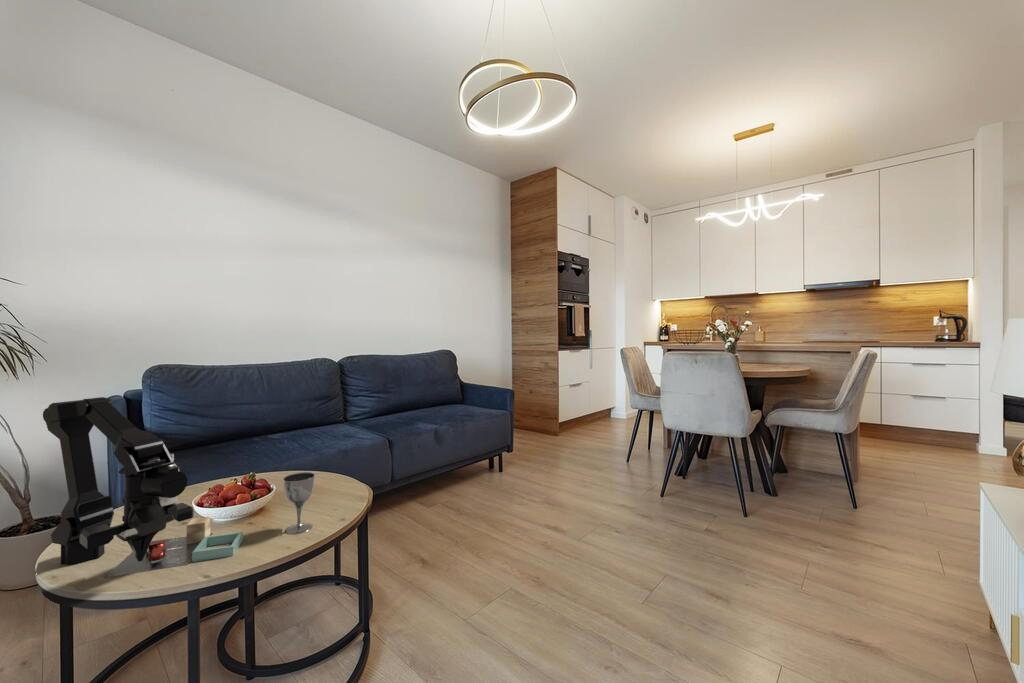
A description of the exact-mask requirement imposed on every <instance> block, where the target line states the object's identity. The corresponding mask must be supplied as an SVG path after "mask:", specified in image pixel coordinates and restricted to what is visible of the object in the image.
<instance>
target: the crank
mask: <svg viewBox="0 0 1024 683" xmlns="http://www.w3.org/2000/svg"><path fill="white" fill-rule="evenodd" d="M154 541H155V542H152V543H150V544H149V547H148V549H147V551H146V554H149V561H151V563H156V562H159V561H163V558H164V557H165V540H164V539H159V541H157V540H154Z"/></svg>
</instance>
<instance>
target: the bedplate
mask: <svg viewBox="0 0 1024 683" xmlns="http://www.w3.org/2000/svg"><path fill="white" fill-rule="evenodd" d="M213 534H214V533H213V532H212V533H211V532H210V536H213ZM186 537H187V536H182V537H173V538H165V539H163V540H165V557H164V558H163V561H159V562H156V563H151V561H149V554H145V556H144V558H143V560H142V561H140V562H139V561H138V560H137V558H136V557H135V555H134V553H133V551H132V552H131V553H130V554H128V555H127V556H126V557H125V558H124V559H123V560H121V562H119V563H118V565H116V566H115V567H114V568H113V569H111V571H110V572H109V573H107V574H106V575H105V576H104V578H111V577H116V576H118V577H119V576H124V575H131V574H132V575H133V574H137V573H142V572H143V573H144V572H145V573H146V572H150V571H157V570H164V569H170V568H176V567H182V566H183V567H185V566H188V565H189V564H190V562H192V552H193V551H194V550H195V549H196V547H197V546H198V545H199V544H200V542H199V543H191V544H186ZM159 540H160V539H159ZM159 540H158V539H157V540H152V541H151V542H150V543H152V542H155V541H159Z"/></svg>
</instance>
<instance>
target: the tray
mask: <svg viewBox="0 0 1024 683" xmlns="http://www.w3.org/2000/svg"><path fill="white" fill-rule="evenodd" d="M243 540H244V532H243V531H238V532H231V533H223V534H217V535H215V534H214V535H211V536H207V537H205V538H204V539H203V540H202V541H201V542H200V544H199V545H198V546H197V547H196V549H195V550H194V551H193V552H192V560H191V563H194V562H200V561H207V560H213V559H221V558H227V557H233V556H234V555H235V554H236V552H237V550H238V549H239V547H240V545H241V544H242V542H243ZM224 544H225V545H226V544H231V545H227V546H219V545H224ZM211 546H212V548H207V547H211ZM213 546H219V547H213Z"/></svg>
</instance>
